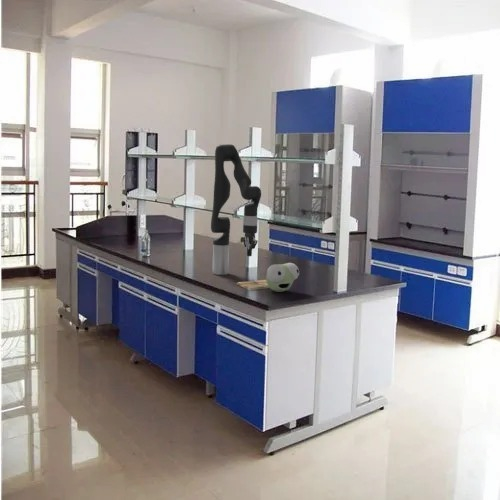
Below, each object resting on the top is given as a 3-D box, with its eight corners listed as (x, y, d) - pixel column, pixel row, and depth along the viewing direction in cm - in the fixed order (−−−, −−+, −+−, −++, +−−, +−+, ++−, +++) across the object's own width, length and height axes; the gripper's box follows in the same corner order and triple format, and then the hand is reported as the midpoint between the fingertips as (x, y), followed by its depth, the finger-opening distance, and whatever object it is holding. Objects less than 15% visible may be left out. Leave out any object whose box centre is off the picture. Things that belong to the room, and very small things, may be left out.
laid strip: (244, 288, 312) (244, 285, 312) (273, 285, 321) (273, 283, 321) (249, 290, 308) (249, 288, 307) (278, 287, 317) (279, 285, 317)
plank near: (236, 284, 319) (237, 282, 319) (250, 283, 323) (250, 281, 323) (244, 288, 312) (244, 285, 312) (258, 286, 317) (258, 284, 316)
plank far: (252, 283, 324) (252, 280, 324) (265, 281, 328) (265, 279, 328) (259, 286, 317) (259, 284, 317) (273, 285, 321) (273, 283, 321)
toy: (274, 296, 295) (275, 266, 293) (256, 290, 307) (257, 262, 305) (302, 292, 306) (303, 263, 304) (284, 287, 318) (285, 259, 315)
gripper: (238, 222, 320) (237, 254, 323) (250, 225, 309) (249, 258, 312) (250, 222, 324) (249, 253, 327) (262, 225, 313) (261, 257, 316)
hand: (249, 256), depth 319 cm, fingers closed
